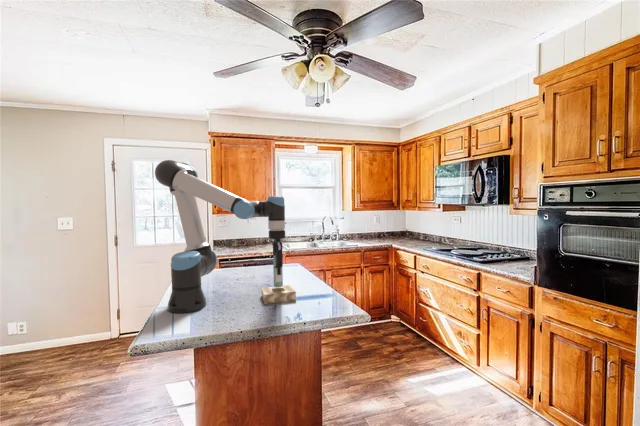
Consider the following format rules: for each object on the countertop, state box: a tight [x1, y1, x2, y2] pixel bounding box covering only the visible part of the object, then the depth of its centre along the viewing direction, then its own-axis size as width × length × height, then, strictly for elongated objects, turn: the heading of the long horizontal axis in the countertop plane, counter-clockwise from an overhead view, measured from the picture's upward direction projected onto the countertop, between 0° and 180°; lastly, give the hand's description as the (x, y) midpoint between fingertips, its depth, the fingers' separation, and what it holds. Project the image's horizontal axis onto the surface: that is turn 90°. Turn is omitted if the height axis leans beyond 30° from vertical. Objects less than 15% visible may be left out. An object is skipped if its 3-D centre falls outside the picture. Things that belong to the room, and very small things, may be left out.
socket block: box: [260, 284, 297, 305], centre depth 146 cm, size 14×12×4 cm
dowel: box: [272, 255, 284, 287], centre depth 146 cm, size 4×4×14 cm
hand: (278, 280), depth 146 cm, fingers closed on dowel, 4 cm apart
